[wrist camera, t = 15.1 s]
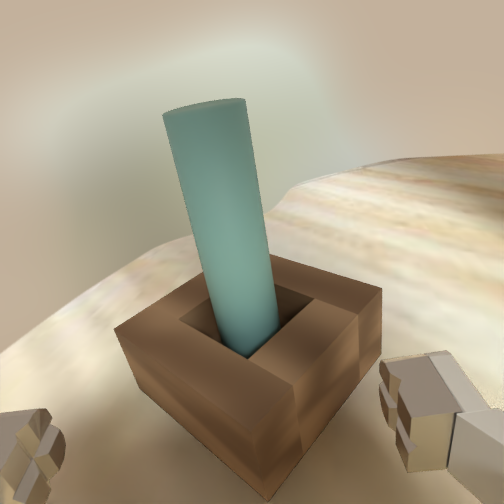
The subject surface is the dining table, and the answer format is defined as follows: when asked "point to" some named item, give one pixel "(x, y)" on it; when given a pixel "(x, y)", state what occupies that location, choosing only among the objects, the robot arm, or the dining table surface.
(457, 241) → the dining table surface
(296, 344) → the socket block
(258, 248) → the peg
